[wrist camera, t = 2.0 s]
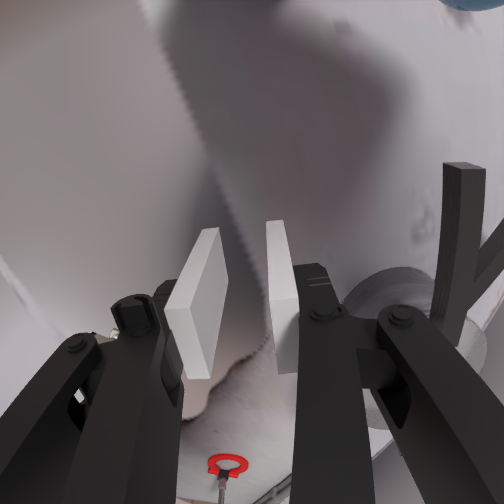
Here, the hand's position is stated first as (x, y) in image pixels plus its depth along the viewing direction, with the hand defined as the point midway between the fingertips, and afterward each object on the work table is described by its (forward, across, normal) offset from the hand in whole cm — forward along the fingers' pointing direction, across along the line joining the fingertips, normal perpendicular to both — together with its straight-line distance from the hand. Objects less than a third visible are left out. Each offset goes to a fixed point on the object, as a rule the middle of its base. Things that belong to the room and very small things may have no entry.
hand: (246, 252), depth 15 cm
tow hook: (+21, -13, -56) cm, 61 cm away
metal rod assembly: (+21, -5, -73) cm, 76 cm away
